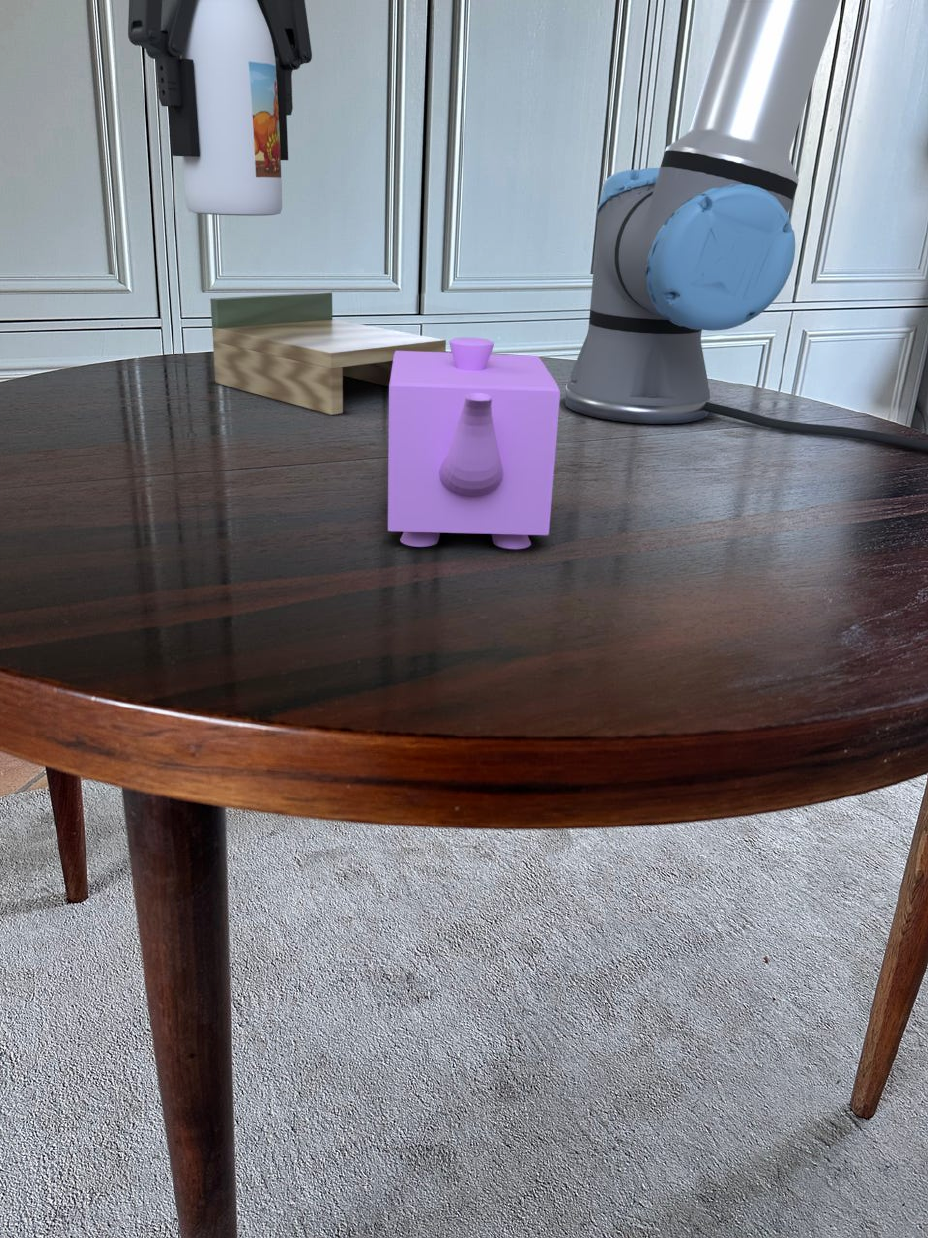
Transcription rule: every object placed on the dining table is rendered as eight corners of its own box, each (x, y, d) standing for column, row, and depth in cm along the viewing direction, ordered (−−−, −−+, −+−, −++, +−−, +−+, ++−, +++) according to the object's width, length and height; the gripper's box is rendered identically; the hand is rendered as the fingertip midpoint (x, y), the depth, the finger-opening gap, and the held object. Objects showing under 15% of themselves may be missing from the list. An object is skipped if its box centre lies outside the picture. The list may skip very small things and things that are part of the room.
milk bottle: (229, 217, 76) (210, -98, 68) (166, 212, 80) (140, -84, 72) (302, 216, 82) (292, -75, 74) (239, 212, 86) (223, -63, 78)
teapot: (393, 488, 75) (395, 318, 70) (525, 492, 76) (536, 323, 71) (384, 588, 57) (386, 368, 52) (558, 592, 58) (576, 374, 53)
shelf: (444, 396, 109) (447, 310, 105) (331, 415, 98) (330, 320, 94) (326, 368, 121) (325, 291, 117) (215, 382, 110) (210, 298, 106)
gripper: (293, -153, 79) (304, 161, 88) (44, -230, 65) (88, 152, 75) (356, -171, 75) (359, 162, 84) (102, -258, 61) (140, 153, 70)
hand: (232, 157), depth 79 cm, fingers closed on milk bottle, 8 cm apart
